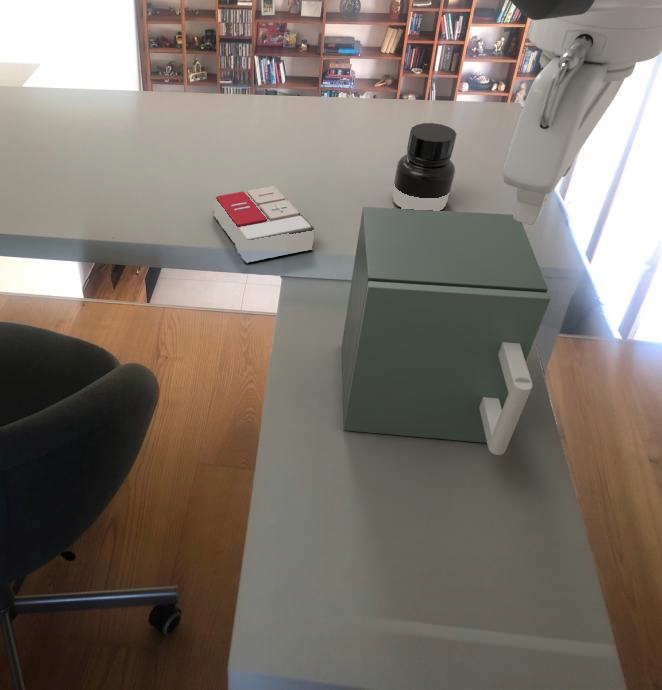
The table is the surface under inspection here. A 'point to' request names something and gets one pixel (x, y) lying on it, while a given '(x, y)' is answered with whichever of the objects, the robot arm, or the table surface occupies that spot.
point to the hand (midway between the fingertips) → (542, 194)
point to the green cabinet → (435, 259)
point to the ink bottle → (427, 162)
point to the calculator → (271, 205)
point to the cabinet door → (443, 362)
